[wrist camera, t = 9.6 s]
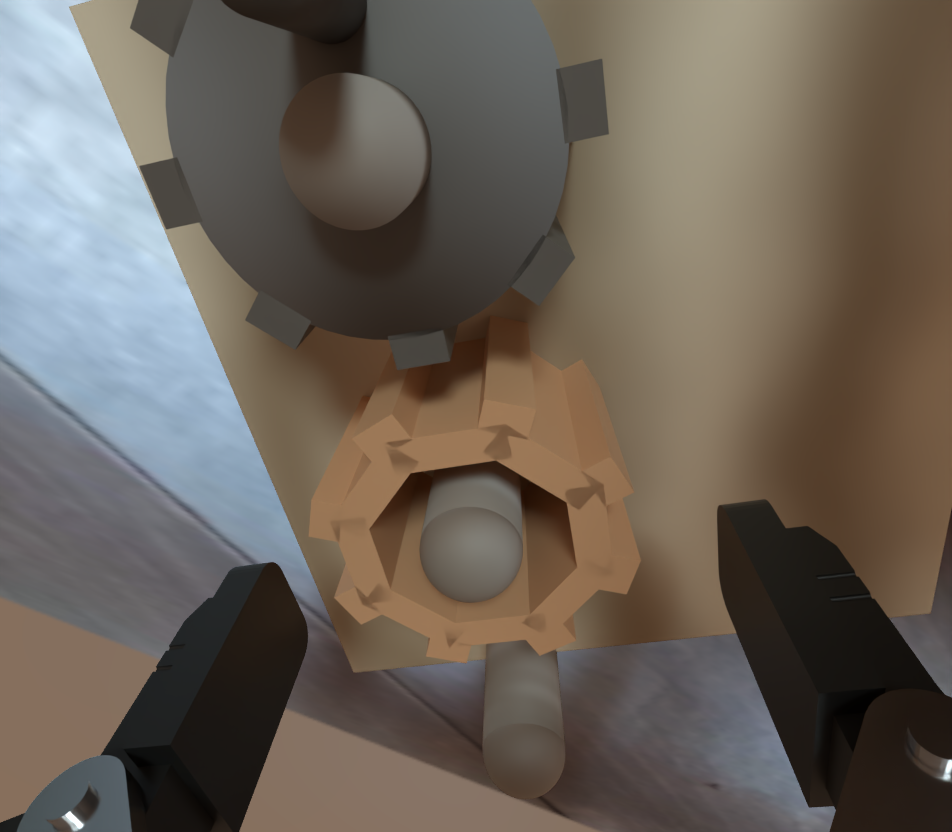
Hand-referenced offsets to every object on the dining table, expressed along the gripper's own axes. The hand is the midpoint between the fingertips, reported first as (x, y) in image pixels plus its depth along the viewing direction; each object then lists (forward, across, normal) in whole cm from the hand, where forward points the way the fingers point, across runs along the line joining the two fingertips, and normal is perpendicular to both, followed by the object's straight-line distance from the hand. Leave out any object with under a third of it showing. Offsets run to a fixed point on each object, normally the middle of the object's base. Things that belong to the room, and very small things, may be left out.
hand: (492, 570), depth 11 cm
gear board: (+7, -2, -1) cm, 8 cm away
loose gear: (+5, 0, 0) cm, 5 cm away
